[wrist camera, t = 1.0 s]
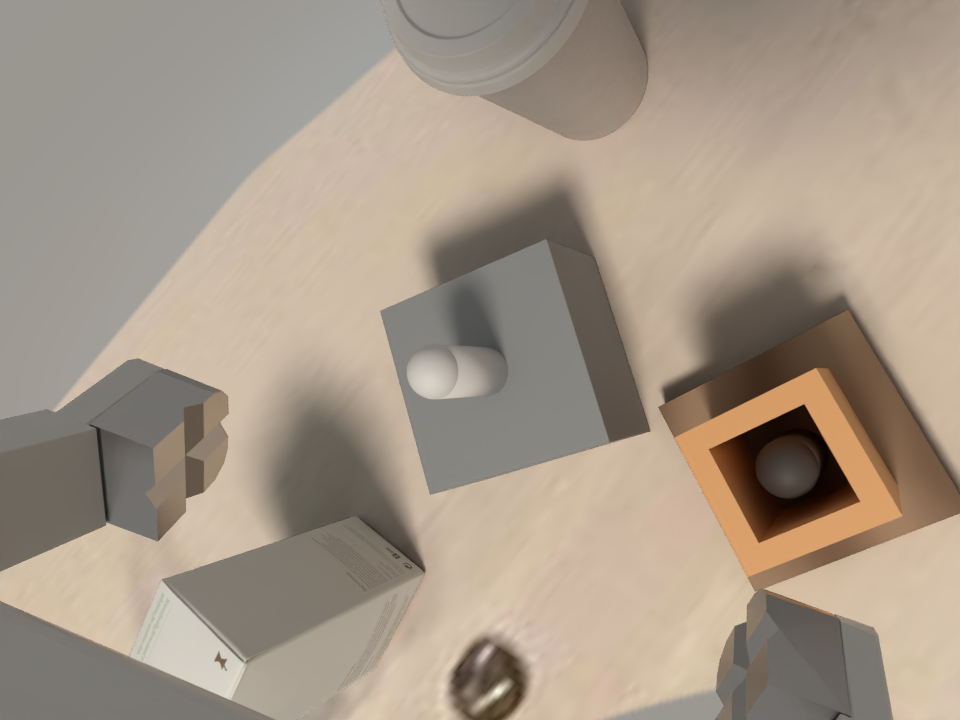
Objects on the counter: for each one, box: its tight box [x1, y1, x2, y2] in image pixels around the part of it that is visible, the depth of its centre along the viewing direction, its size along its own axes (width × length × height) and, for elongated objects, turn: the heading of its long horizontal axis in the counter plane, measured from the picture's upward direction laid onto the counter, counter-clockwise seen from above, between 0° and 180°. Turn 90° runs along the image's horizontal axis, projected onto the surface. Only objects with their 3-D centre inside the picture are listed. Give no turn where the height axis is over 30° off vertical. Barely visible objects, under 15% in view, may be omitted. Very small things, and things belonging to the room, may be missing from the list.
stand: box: [658, 310, 960, 592], centre depth 34 cm, size 10×10×9 cm
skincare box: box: [129, 516, 424, 720], centre depth 43 cm, size 8×7×16 cm
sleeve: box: [675, 368, 903, 577], centre depth 33 cm, size 6×6×8 cm
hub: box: [380, 239, 650, 495], centre depth 39 cm, size 10×10×13 cm
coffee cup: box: [380, 0, 648, 140], centre depth 37 cm, size 10×10×15 cm
